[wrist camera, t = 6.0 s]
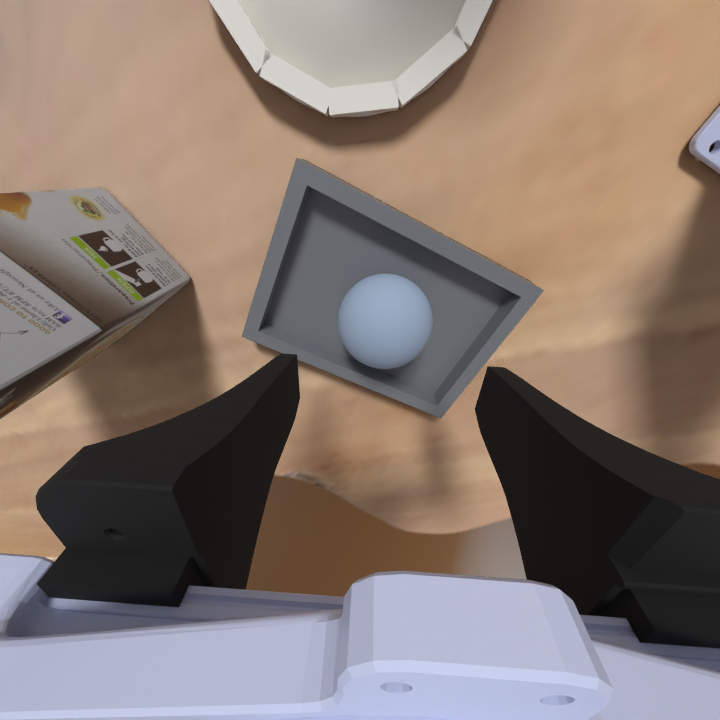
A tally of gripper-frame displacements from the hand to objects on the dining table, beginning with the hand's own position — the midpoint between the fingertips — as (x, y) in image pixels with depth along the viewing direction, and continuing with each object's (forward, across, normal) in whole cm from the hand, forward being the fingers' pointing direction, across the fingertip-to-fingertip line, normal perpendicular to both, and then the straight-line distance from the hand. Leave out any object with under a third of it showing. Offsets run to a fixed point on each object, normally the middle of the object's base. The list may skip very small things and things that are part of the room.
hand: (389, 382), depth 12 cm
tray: (+8, 0, 0) cm, 9 cm away
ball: (+8, 0, 0) cm, 8 cm away
